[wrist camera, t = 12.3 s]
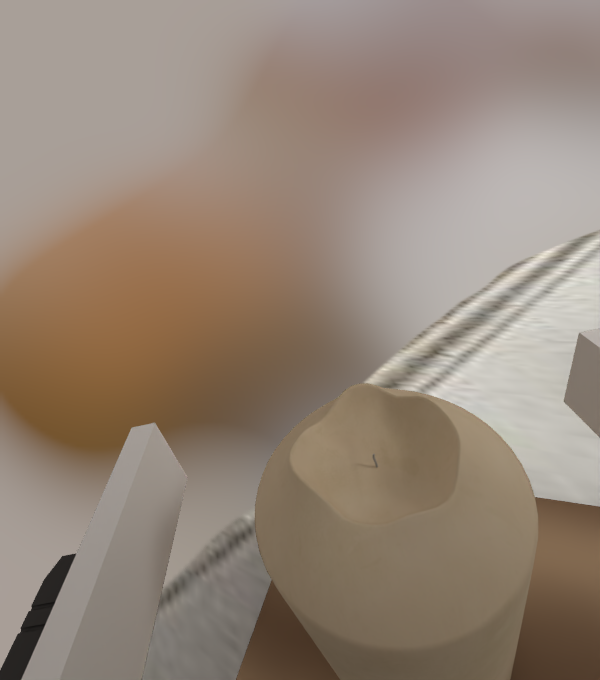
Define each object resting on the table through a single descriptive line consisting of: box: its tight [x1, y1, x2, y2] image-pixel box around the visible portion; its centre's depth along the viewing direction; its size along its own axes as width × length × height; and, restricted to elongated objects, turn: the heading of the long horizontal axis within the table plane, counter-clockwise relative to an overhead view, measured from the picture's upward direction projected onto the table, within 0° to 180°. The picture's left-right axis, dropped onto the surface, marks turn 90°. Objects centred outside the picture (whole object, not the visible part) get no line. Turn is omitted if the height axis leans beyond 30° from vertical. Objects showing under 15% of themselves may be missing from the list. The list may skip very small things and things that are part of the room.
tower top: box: [236, 497, 600, 680], centre depth 13 cm, size 12×12×4 cm
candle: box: [255, 384, 538, 680], centre depth 10 cm, size 6×6×10 cm
